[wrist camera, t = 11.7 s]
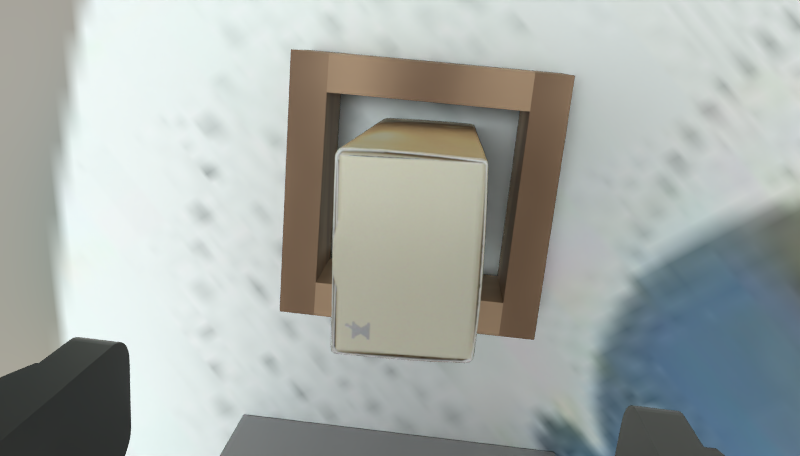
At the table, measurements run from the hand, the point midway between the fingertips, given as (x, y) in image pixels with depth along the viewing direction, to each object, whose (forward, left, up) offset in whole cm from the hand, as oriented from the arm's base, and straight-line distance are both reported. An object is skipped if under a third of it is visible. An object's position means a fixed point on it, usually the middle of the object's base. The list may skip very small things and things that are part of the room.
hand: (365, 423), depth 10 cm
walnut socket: (0, 0, -20) cm, 20 cm away
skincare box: (0, 0, -21) cm, 21 cm away
